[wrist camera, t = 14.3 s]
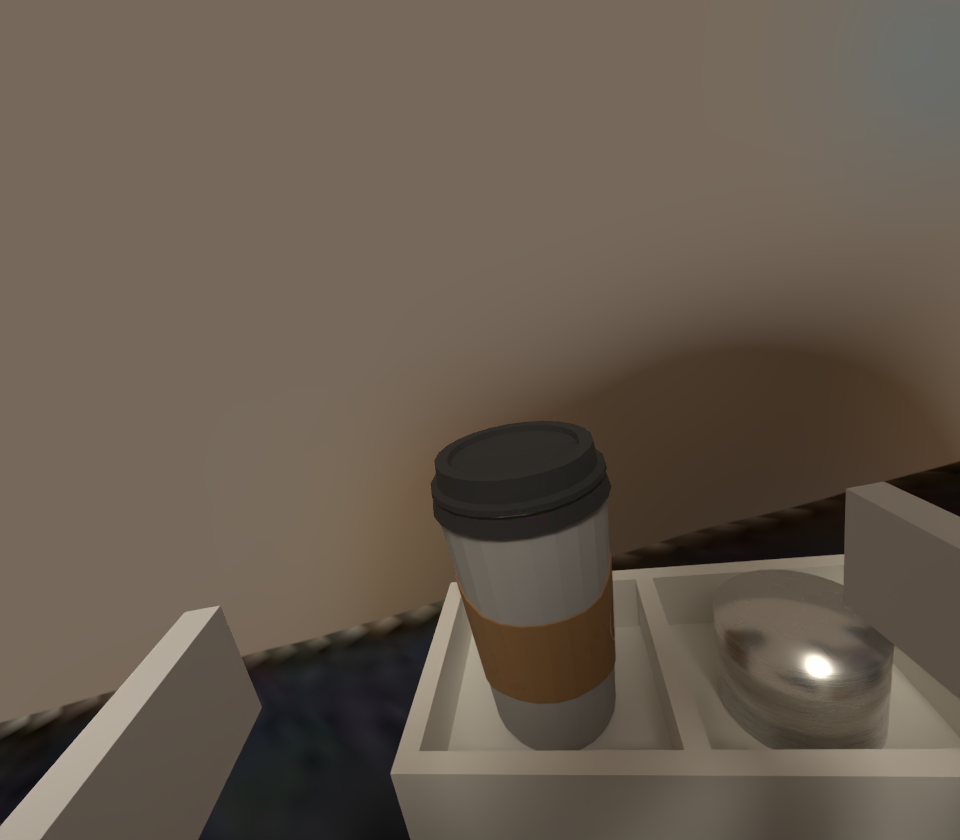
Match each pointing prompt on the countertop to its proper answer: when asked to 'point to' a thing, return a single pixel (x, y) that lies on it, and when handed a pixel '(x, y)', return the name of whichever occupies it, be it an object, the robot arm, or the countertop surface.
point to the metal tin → (800, 663)
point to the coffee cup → (535, 574)
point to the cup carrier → (668, 742)
